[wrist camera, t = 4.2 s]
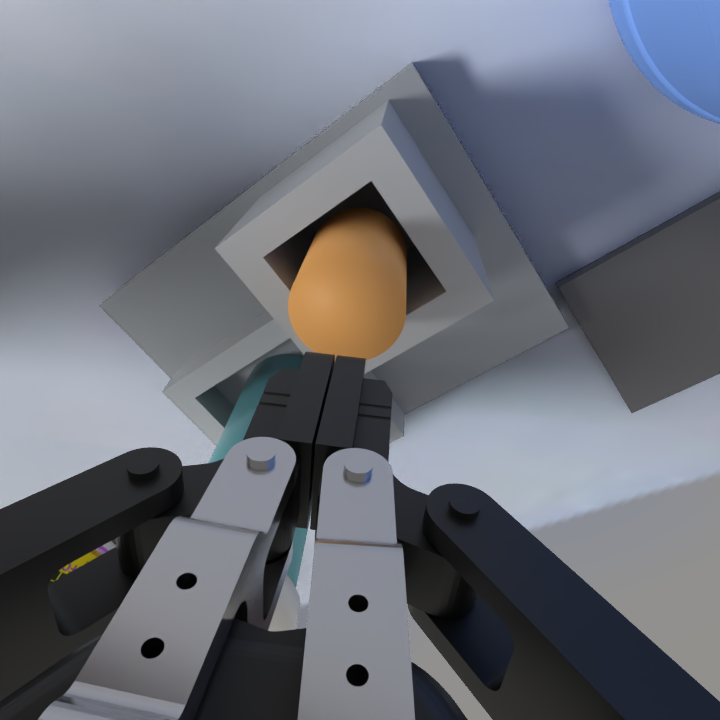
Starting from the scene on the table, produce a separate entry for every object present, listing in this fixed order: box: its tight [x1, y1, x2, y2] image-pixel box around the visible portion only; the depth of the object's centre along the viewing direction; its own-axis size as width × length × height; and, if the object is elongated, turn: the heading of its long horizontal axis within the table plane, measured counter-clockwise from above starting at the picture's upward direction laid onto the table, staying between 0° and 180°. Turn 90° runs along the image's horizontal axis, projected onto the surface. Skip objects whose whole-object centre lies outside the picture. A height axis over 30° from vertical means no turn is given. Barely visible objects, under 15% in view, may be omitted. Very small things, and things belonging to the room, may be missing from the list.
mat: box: [556, 192, 720, 413], centre depth 29 cm, size 9×9×1 cm
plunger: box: [288, 207, 407, 361], centre depth 20 cm, size 4×4×5 cm
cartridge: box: [209, 354, 311, 631], centre depth 25 cm, size 5×5×14 cm
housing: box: [100, 62, 569, 446], centre depth 27 cm, size 14×19×9 cm
